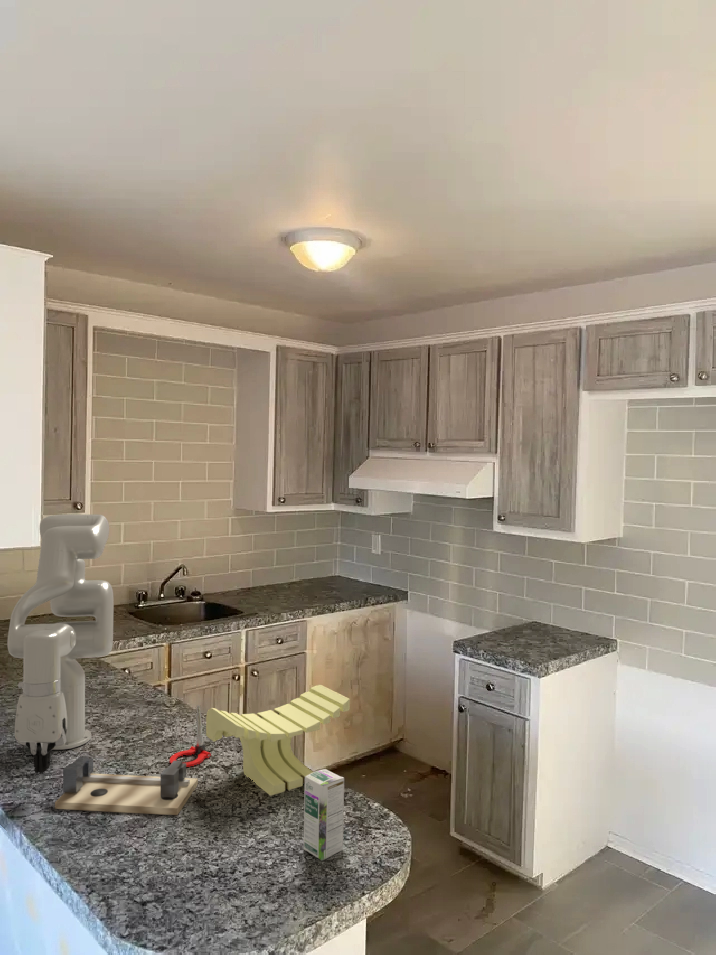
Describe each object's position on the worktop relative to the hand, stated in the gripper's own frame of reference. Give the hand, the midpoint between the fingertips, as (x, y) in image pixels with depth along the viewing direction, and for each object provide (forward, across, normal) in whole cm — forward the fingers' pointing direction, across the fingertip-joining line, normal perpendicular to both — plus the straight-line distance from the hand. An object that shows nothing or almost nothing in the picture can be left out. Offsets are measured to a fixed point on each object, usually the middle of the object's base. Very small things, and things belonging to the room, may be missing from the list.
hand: (41, 770), depth 158 cm
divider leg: (+4, +7, +3) cm, 9 cm away
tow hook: (+6, +26, +23) cm, 35 cm away
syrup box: (+8, +65, -14) cm, 67 cm away
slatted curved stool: (+6, +50, +17) cm, 53 cm away
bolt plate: (+6, +19, +3) cm, 20 cm away
